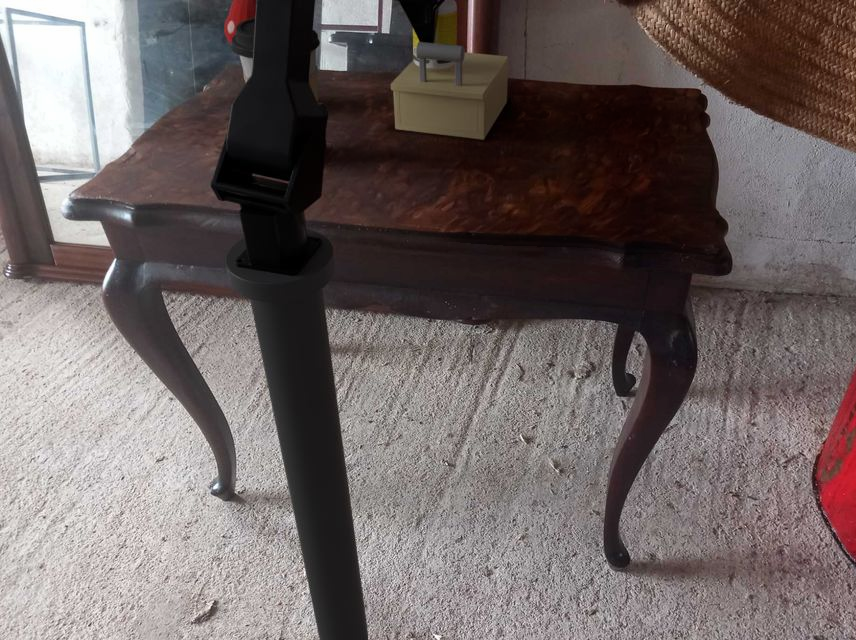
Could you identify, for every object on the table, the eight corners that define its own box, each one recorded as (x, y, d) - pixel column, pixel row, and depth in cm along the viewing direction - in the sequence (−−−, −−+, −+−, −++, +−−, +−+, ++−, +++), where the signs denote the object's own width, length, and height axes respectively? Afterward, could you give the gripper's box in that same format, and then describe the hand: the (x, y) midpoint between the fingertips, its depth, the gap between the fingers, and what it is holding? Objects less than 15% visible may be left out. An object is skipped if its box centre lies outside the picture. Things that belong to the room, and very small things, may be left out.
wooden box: (483, 139, 98) (484, 98, 95) (395, 129, 100) (392, 88, 97) (506, 102, 107) (508, 62, 104) (425, 93, 110) (424, 54, 106)
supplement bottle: (458, 57, 102) (460, -25, 96) (453, 71, 97) (455, -14, 91) (416, 55, 102) (415, -28, 96) (410, 69, 98) (408, -17, 92)
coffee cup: (340, 166, 92) (327, 33, 83) (259, 179, 89) (235, 44, 80) (321, 134, 99) (306, 8, 89) (245, 146, 96) (221, 17, 87)
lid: (482, 100, 94) (483, 54, 91) (390, 90, 96) (388, 45, 93) (508, 62, 104) (509, 19, 101) (424, 54, 106) (423, 12, 103)
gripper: (482, -79, 80) (479, 76, 89) (521, -109, 94) (515, 27, 104) (377, -85, 82) (386, 66, 92) (431, -114, 96) (434, 20, 106)
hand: (435, 43), depth 98 cm, fingers closed on supplement bottle, 5 cm apart
